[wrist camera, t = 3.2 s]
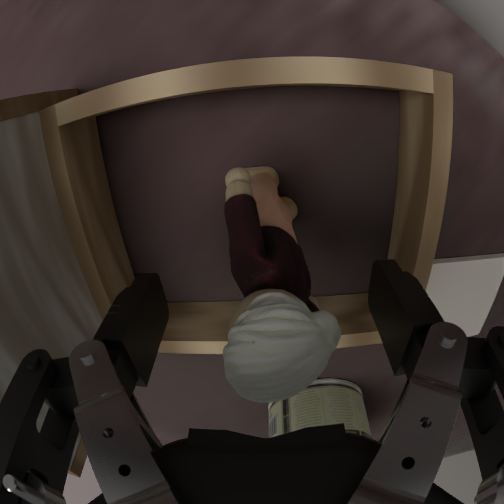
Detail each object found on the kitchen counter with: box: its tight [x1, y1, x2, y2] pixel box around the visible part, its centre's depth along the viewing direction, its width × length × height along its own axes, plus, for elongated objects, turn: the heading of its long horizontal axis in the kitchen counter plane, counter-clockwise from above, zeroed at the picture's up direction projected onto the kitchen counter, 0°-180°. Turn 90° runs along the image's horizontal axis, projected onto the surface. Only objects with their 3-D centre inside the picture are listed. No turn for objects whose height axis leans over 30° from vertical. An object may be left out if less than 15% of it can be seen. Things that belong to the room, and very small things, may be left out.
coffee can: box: [268, 378, 372, 439], centre depth 22 cm, size 10×10×14 cm
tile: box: [426, 253, 504, 337], centre depth 21 cm, size 9×9×1 cm
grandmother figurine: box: [223, 166, 341, 402], centre depth 12 cm, size 8×4×13 cm, turn 40°
